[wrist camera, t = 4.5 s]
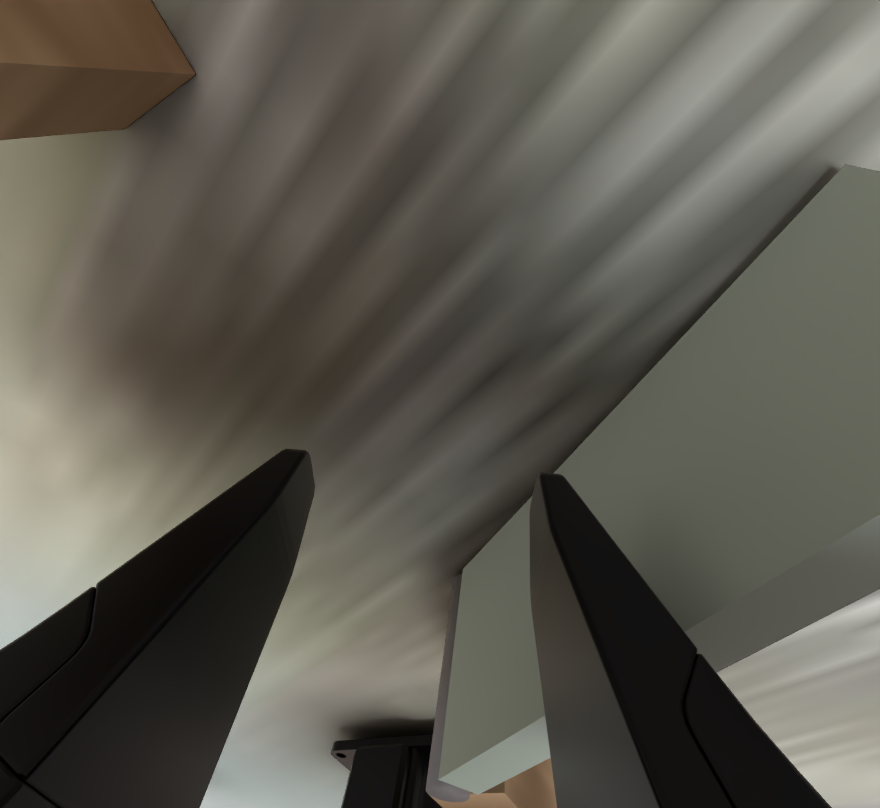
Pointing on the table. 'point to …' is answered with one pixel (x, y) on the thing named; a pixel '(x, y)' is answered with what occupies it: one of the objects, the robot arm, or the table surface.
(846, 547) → the door
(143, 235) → the table surface
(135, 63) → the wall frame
